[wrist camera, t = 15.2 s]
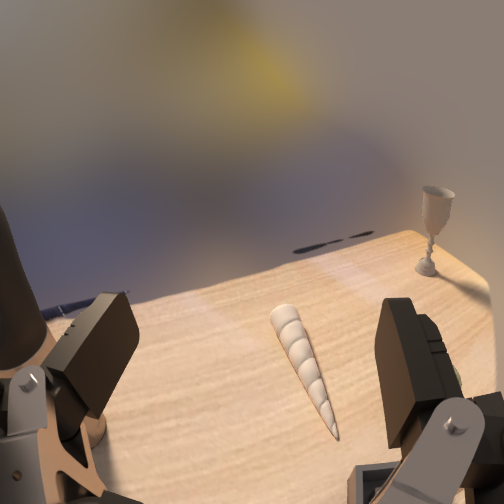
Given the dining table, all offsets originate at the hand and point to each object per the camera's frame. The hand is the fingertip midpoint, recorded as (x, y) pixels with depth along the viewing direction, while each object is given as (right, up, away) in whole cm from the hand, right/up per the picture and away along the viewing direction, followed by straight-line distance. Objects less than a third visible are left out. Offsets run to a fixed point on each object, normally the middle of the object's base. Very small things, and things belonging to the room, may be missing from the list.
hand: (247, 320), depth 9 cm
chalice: (+38, -2, +53) cm, 65 cm away
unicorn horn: (+8, -15, +34) cm, 38 cm away
